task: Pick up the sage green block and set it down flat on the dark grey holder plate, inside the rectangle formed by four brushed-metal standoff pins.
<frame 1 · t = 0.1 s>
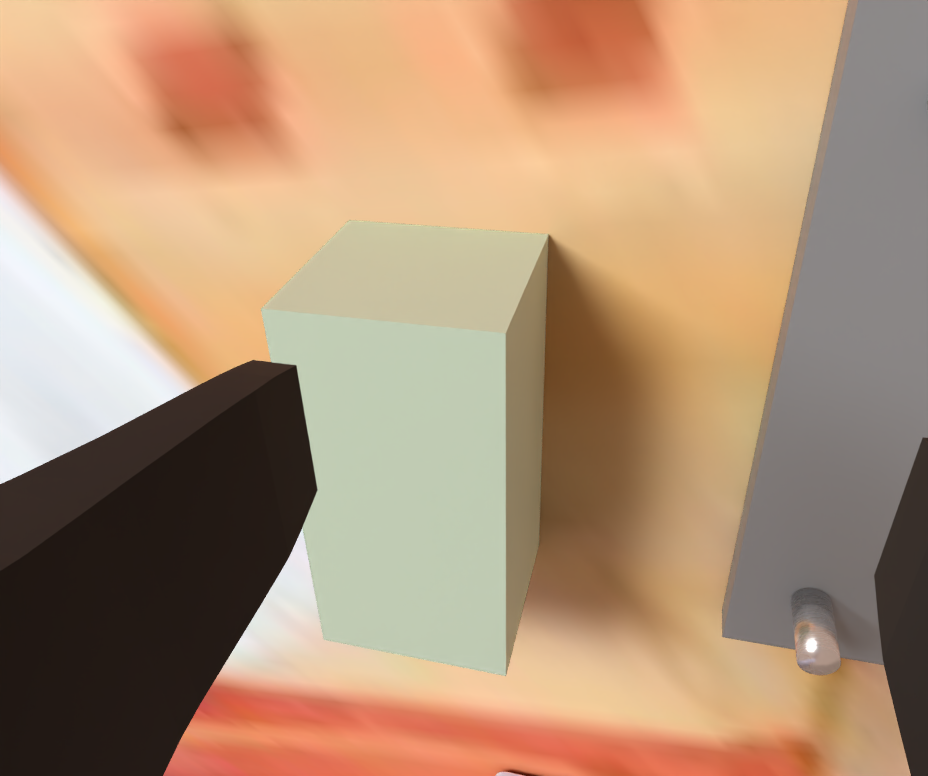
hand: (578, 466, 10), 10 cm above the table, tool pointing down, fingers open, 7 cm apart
sage green block: (455, 394, 22), on the table
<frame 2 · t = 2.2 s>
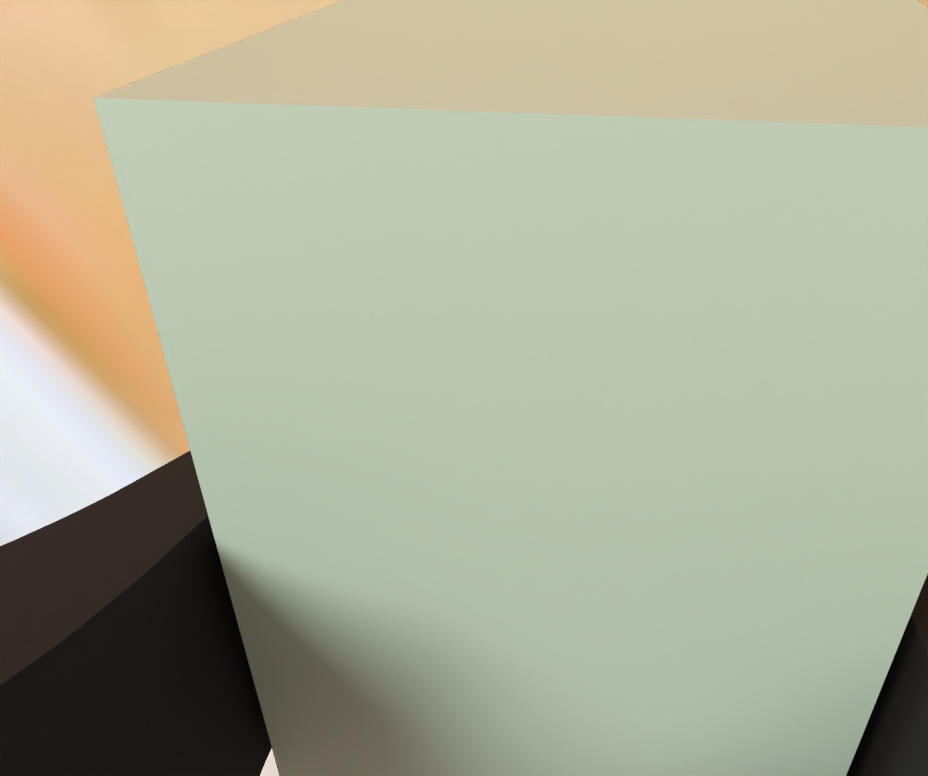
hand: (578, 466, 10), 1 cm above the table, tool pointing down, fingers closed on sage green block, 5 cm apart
sage green block: (592, 398, 11), on the table, touching gripper
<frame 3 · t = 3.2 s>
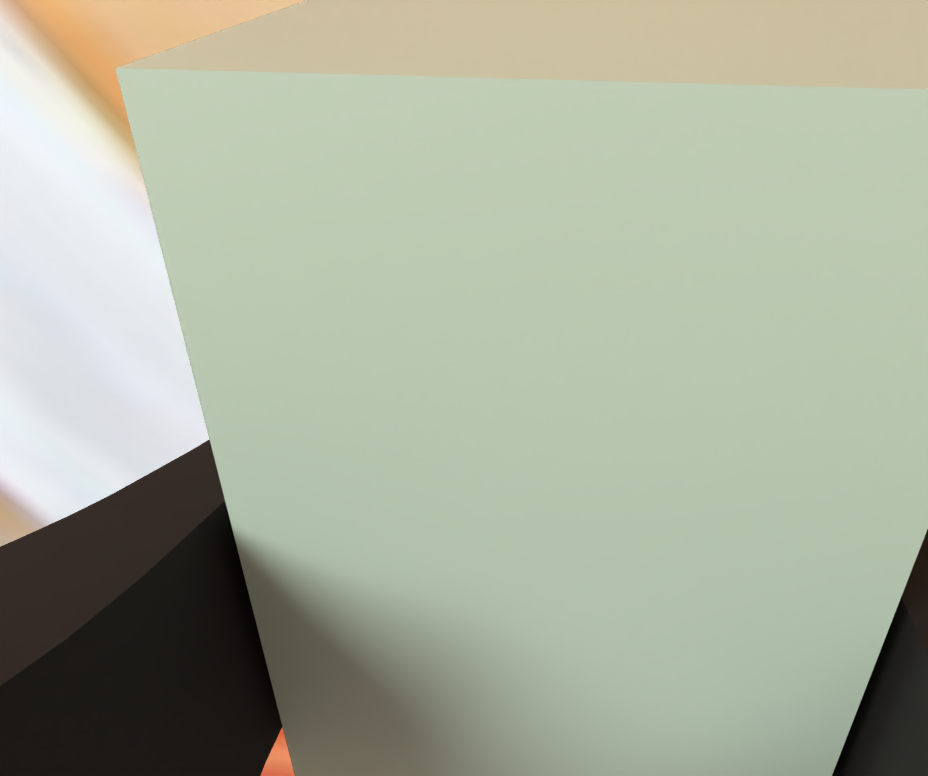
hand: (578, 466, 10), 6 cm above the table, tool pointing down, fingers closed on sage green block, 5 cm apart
sage green block: (595, 382, 11), point 4 cm above the table, touching gripper
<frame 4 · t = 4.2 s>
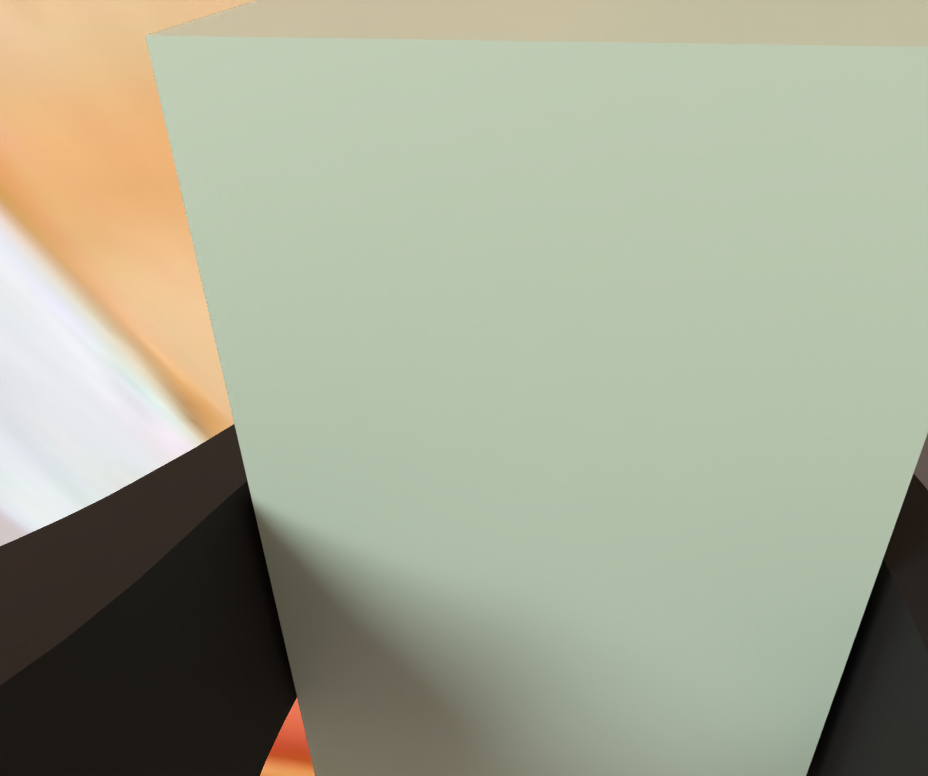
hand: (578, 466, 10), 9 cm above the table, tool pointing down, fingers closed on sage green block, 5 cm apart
sage green block: (596, 360, 11), point 7 cm above the table, touching gripper
pin holder: (925, 180, 16), on the table
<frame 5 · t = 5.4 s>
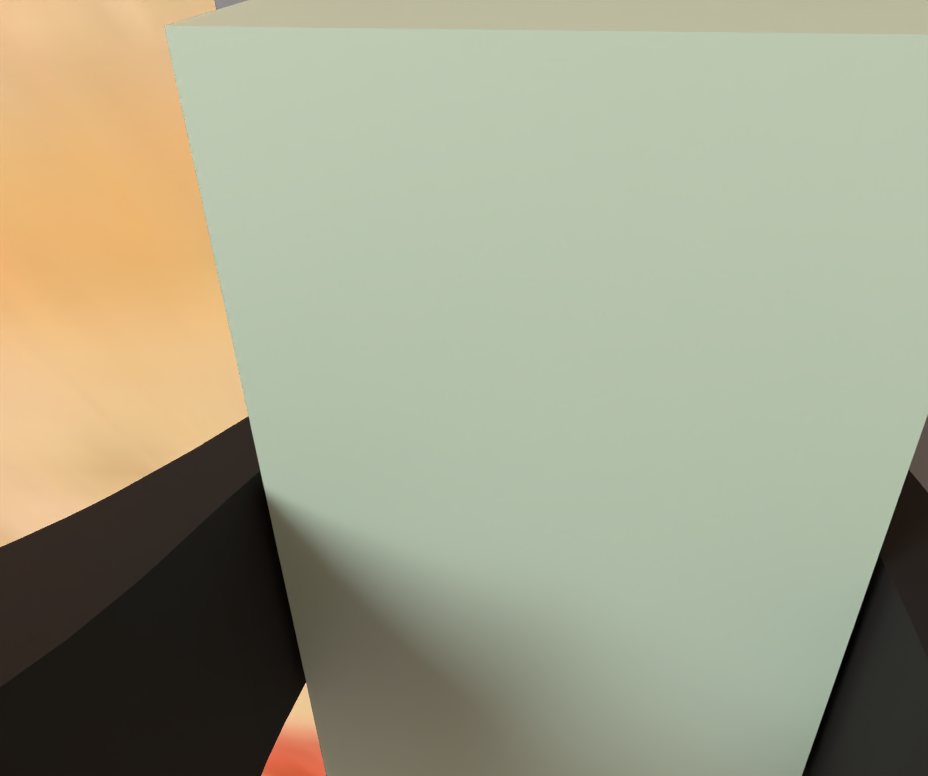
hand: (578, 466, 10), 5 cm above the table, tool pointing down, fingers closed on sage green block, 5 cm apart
sage green block: (600, 352, 11), point 3 cm above the table, touching gripper
pin holder: (616, 290, 14), on the table
when the fingers open (4 cm above the table, at t = 6.5 s): sage green block stays where it is, resting on pin holder.
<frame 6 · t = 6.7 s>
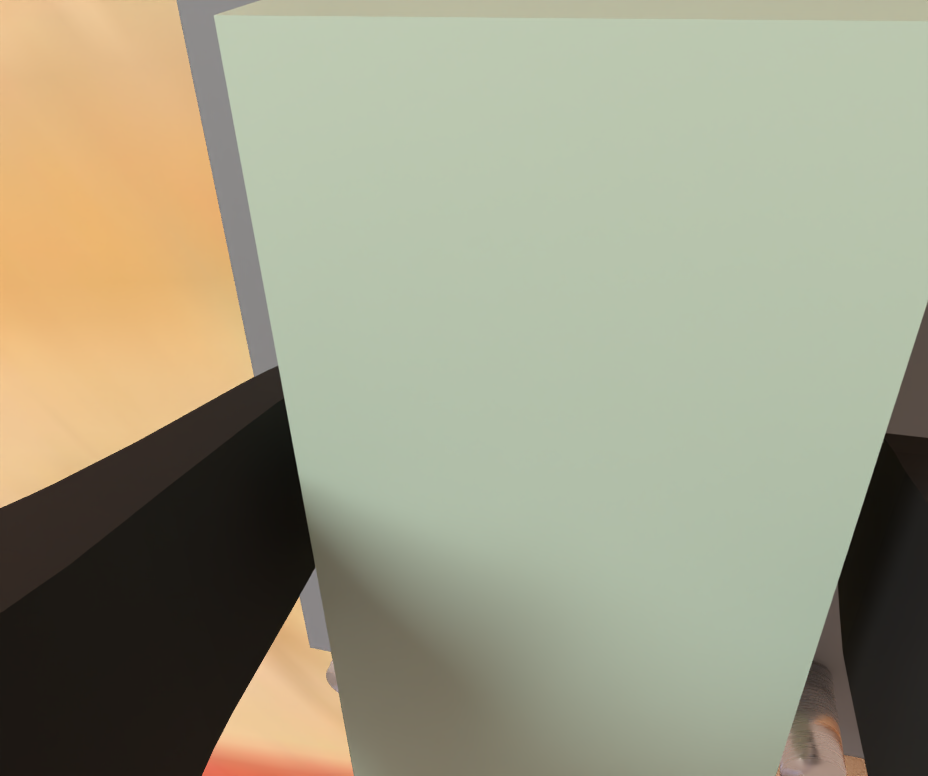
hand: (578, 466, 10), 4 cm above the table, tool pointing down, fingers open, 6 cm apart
sage green block: (604, 332, 12), point 1 cm above the table, touching pin holder
pin holder: (611, 315, 13), on the table
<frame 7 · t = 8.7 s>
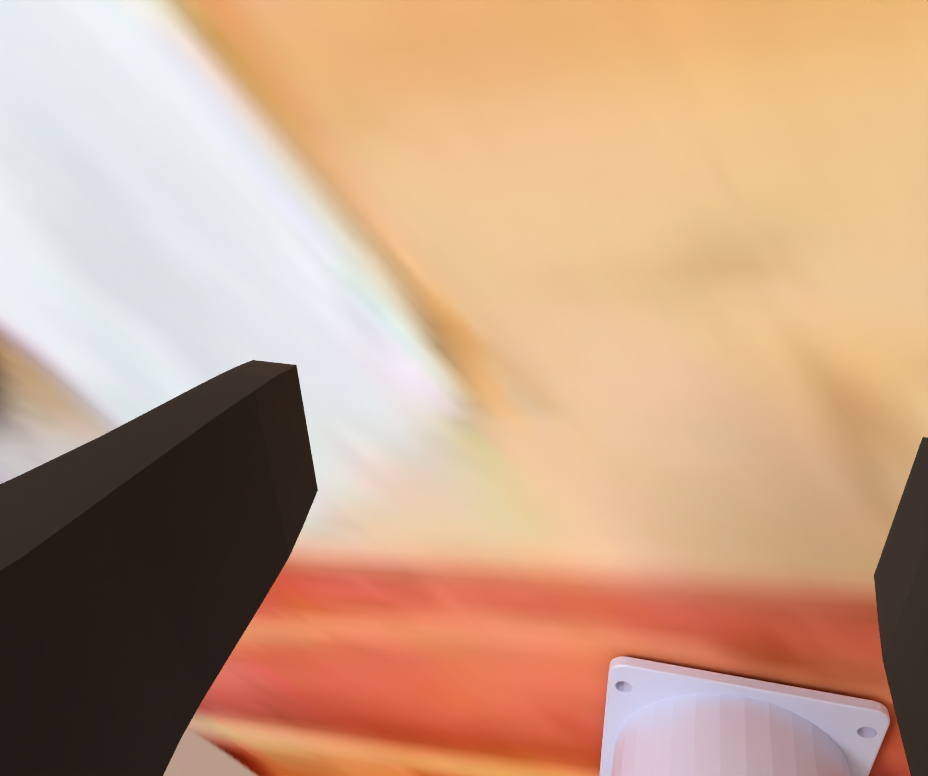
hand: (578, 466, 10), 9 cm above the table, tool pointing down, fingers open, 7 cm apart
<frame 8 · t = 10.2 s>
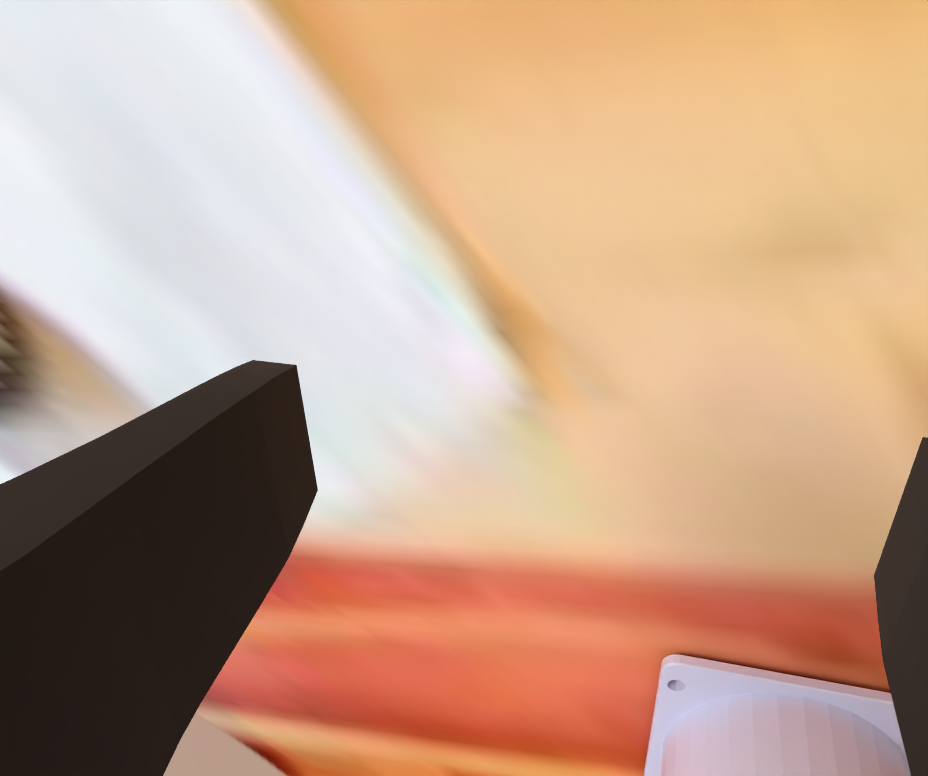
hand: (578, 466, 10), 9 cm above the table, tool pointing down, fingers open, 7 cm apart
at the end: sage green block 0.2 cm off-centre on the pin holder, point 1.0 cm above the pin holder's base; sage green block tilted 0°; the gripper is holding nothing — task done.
